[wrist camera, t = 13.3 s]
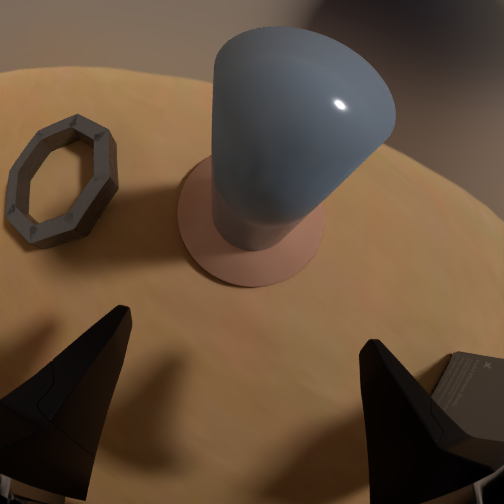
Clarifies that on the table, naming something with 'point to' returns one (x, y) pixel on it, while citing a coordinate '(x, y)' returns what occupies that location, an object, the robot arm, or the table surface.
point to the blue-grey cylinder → (288, 129)
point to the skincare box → (474, 394)
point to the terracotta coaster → (230, 257)
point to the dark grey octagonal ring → (87, 202)
